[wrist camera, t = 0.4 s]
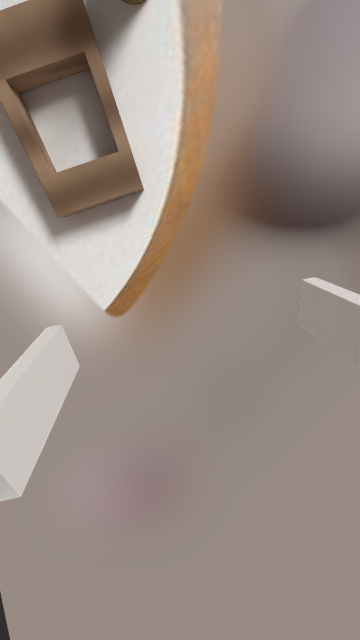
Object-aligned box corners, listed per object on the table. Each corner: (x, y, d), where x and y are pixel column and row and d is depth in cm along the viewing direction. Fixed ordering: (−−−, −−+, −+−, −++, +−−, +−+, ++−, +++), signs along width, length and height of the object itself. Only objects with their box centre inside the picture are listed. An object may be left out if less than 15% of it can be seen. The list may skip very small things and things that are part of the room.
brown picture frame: (-18, 45, 25) (-38, 24, 22) (85, 8, 25) (76, -18, 22) (65, 216, 33) (58, 216, 30) (143, 190, 32) (143, 187, 30)
